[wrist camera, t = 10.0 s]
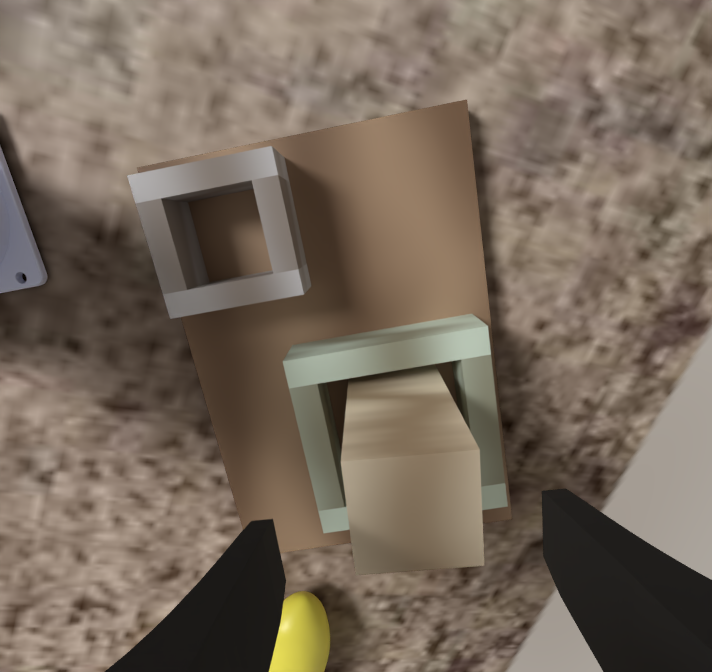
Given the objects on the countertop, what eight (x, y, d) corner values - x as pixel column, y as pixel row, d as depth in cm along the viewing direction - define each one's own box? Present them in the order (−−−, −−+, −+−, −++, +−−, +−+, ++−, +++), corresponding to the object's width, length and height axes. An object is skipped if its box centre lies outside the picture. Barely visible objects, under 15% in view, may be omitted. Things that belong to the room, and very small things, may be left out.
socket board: (255, 543, 24) (237, 596, 20) (148, 170, 19) (101, 157, 15) (505, 506, 23) (530, 555, 19) (461, 106, 18) (484, 77, 15)
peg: (358, 446, 21) (355, 575, 13) (349, 370, 20) (340, 461, 12) (439, 439, 21) (484, 565, 13) (434, 362, 20) (479, 449, 12)
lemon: (245, 662, 26) (225, 736, 22) (281, 560, 24) (266, 622, 20) (310, 680, 26) (301, 756, 22) (350, 580, 24) (348, 645, 21)
